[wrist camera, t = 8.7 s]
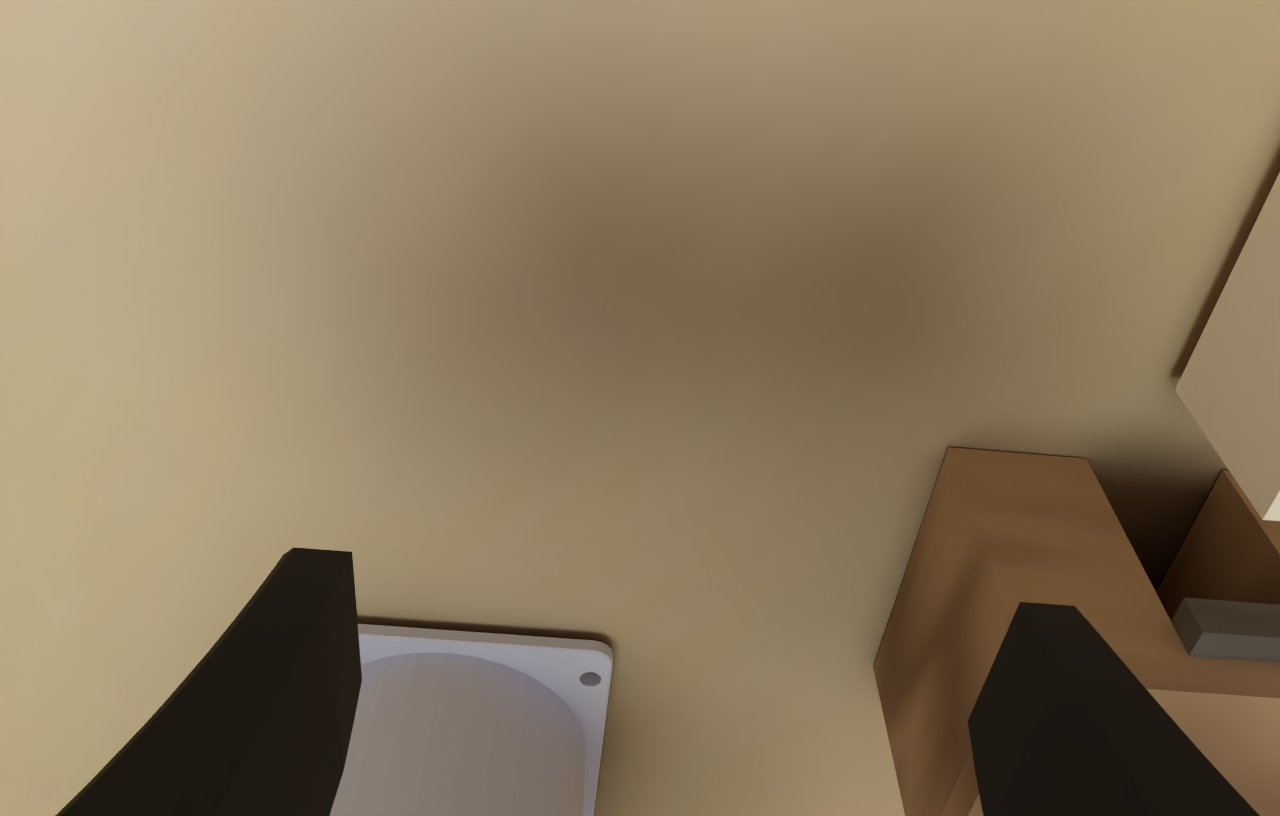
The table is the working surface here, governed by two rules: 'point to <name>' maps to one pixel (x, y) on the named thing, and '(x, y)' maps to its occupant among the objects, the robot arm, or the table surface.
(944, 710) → the dispenser
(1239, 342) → the pink flat bar
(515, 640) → the robot arm
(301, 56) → the table surface
